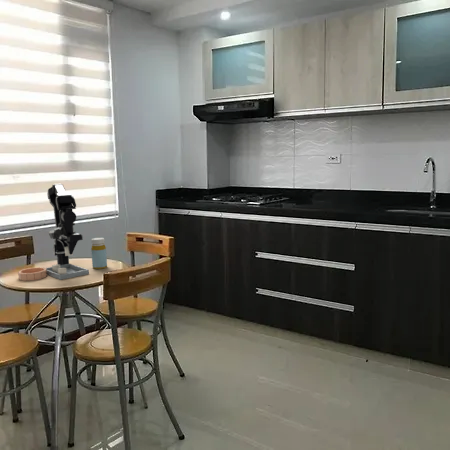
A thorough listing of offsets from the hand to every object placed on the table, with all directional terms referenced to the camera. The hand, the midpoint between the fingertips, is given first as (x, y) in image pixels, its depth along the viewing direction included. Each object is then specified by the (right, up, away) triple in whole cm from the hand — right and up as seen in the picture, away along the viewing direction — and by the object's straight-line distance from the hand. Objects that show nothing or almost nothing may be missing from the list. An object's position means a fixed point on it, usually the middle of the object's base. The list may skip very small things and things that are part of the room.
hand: (69, 253), depth 225 cm
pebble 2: (-1, -10, -5) cm, 12 cm away
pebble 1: (-7, -10, +2) cm, 12 cm away
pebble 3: (0, -1, 0) cm, 1 cm away
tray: (-2, -10, +2) cm, 10 cm away
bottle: (+12, -8, +12) cm, 18 cm away
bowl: (-16, -11, -3) cm, 19 cm away
